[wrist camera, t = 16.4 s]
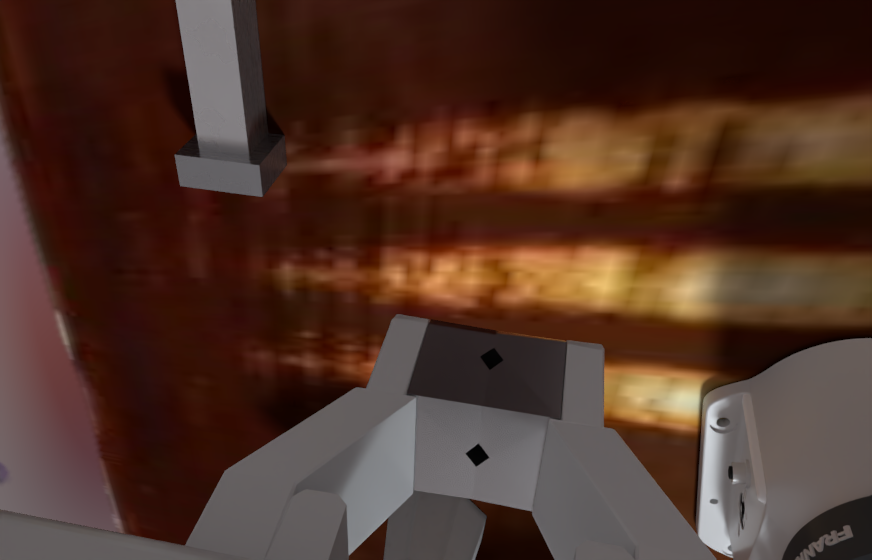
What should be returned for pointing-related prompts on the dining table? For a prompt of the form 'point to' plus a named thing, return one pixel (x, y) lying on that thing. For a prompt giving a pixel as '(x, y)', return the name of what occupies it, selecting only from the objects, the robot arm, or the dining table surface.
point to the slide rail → (226, 101)
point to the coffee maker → (434, 528)
